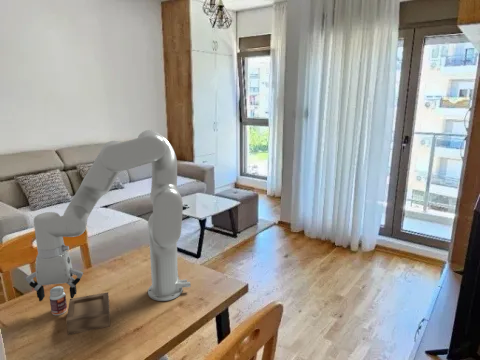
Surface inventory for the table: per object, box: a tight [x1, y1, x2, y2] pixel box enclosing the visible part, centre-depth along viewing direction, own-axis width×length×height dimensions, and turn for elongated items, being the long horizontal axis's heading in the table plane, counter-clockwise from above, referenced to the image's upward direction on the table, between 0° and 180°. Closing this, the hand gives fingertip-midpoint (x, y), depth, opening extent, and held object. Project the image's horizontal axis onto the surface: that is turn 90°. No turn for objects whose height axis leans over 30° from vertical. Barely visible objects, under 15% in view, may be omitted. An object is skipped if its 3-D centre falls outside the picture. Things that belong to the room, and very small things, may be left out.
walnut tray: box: [65, 291, 111, 336], centre depth 113 cm, size 12×12×5 cm
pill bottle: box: [49, 285, 68, 316], centre depth 116 cm, size 5×5×8 cm
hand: (57, 297), depth 116 cm, fingers open, 9 cm apart
